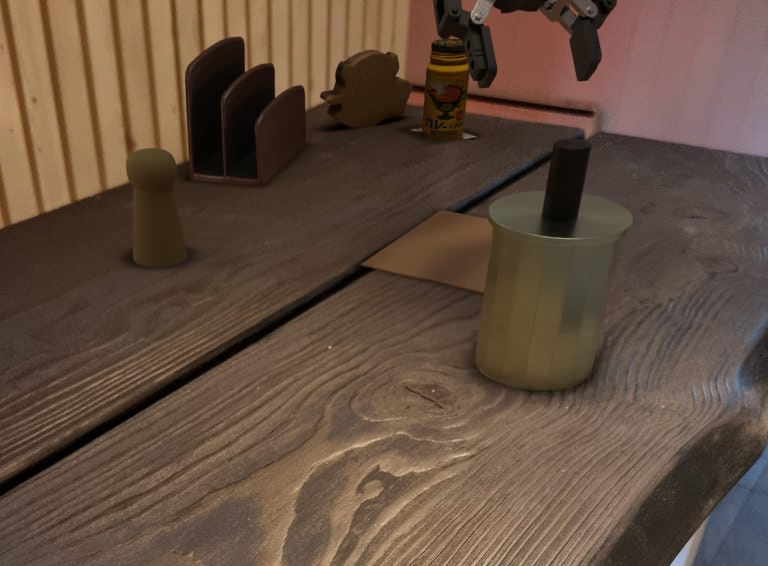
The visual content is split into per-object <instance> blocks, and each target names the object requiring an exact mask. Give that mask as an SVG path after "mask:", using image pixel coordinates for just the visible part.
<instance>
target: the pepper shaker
mask: <svg viewBox="0 0 768 566" xmlns="http://www.w3.org/2000/svg"><path fill="white" fill-rule="evenodd" d="M125 170H126V171H125V172H126V176H127V180H128V182H129V183H130V185H131V186H132V187H133V203H132V204H133V205H132V206H133V207H132V208H133V209H132V210H133V213H132V214H133V215H132V216H133V218H132V220H133V221H132V223H133V224H132V228H133V229H132V232H133V233H132V258H133V262H135V263H136V264H137V265H140V266H143V267H149V268H164V267H171V266H175V265H178V264H182V263H183V262H184V261H186V260H187V258H188V252H187V247H186V241H185V237H184V233H183V227H182V223H181V218H180V214H179V207H178V204H177V198H176V194H175V190H174V184H175V182H176V179H177V175H178V165H177V162H176V159H175V157H174V156H173V154H172V152H169V151H168V150H166V149H163V148H157V147H148V148H141V149H137V150H135V151H132V152H131V153H130V154H129V155H128V158H127V159H126V162H125Z"/></svg>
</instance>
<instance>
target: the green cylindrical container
mask: <svg viewBox="0 0 768 566" xmlns="http://www.w3.org/2000/svg"><path fill="white" fill-rule="evenodd" d="M622 242H623V238H621V239H619V240H616V241H613V242H609V243H605V244H600V245H592V246H577V247H568V246H551V245H543V244H537V243H532V242H527V241H523V240H519V239H516V238H513V237H510V236H508V235H505V234H503V233H501V232H499V231H498V230H496V229H495V228H494V227H493V232H492V239H491V246H490V253H489V261H488V268H487V275H486V283H485V290H484V293H483V297H482V304H481V305H482V306H481V313H480V320H479V326H478V327H479V328H478V332H477V334H478V335H477V342H476V349H475V361H474V363H475V365H476V367H477V369H478V370H479V371H480V372H481V373H482V375H484V376H485V377H487V378H489V379H490V380H491V381H494V382H496V383H498V384H502V385H504V386H507V387H511V388H515V389H519V390H528V391H538V392H539V391H540V392H544V391H545V392H546V391H547V392H548V391H558V390H559V391H560V390H565V389H569V388H572V387H574V386H577V385H579V384H581V383H583V382H584V381H586V380H587V379H588V378H589V376H590V374H591V373H592V371H593V367H594V362H595V359H596V354H597V349H598V345H599V341H600V337H601V332H602V329H603V323H604V320H605V316H606V310H607V306H608V303H609V297H610V293H611V289H612V284H613V281H614V277H615V272H616V268H617V263H618V259H619V256H620V250H621V246H622Z"/></svg>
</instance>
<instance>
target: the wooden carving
mask: <svg viewBox="0 0 768 566" xmlns="http://www.w3.org/2000/svg"><path fill="white" fill-rule="evenodd" d="M399 70H400V62H399V56H398V54H397V53H395V52H391V51H387V52H386V53H384V52H382V51H380V50H376V49H365V50H362V51H360V52H356V53H354V54H352V55H351V56H349V57H348V58H347V59H345V60H343V61H342V60H341V61H339V63H338V64H337V67H336V69H335V73H334V80H335V82H334V84H333V88H332V89H330V90H323V91H321V92H320V94H319V98H320V99H321V100H323V101H324V102H327V103H328V104H329V106H328V108H327V110H326V114H327V115H329V116H330V117H331V118H333V119H334V120H336V121H337V122H338V123H340V124H341V125H344V126H346V127H347V128H351V129H355V128H360V127H365V126H371V125H373V126H376V125H378V124H380V123H381V122H382V121H384V119H386V118H387V117H388V116H394V117H398V116H401V115H403V114H405V110H406V107H407V103H408V101H409V99H410V96H411V93H412V92H413V89H414V85H413V83H412V82H410V81H408V80H407V79H405V78H401V77H400V76H397V75H398V73H399V72H400V71H399Z"/></svg>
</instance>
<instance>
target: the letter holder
mask: <svg viewBox="0 0 768 566" xmlns="http://www.w3.org/2000/svg"><path fill="white" fill-rule="evenodd" d="M184 88H185V89H184V91H185V113H186V127H187V147H188V162H189V180H191V181H197V182H207V183H217V184H228V185H238V186H248V187H257V188H258V187H262V186H263V185H265V184H266V183H267V182H268V181H269V180H270V179H271V178H272V177H274V176H275V174H276V173H278V172H279V171H280V170H281V169H282V168H283V167H284V166H285V165H286V164H287V163H289V162H290V161H291V160H292V159H293V158H294V157H295V156H296V155H298V154H299V153H300V152H301V151H302V150H303V149H304V148H305V147H306V146H307V116H306V115H307V114H306V113H307V112H306V91H305V89H306V88H305V87H304V85H302V84H297V85H294V86H293V85H292V86H291V87H289V88H286V89H285V90H283V91H282V92H281V93H279V94H278V95H276V69H275V65H274V63H272V62H265V63H260V64H257V65H255V66H253V67H251V68H249V69H248V70H246V44H245V39H244V38H243V36H229V37H225V38H223V39H220V40H218V41H217V42H215V43H213V44H211V45H209V46H208V47H207V48H206V49H204V50H203V51H201V53H200V54H198V55H196V57H195V58H193V60H191V61H190V63H189V64H188V65H187V67H186V69H185V73H184Z"/></svg>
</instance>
